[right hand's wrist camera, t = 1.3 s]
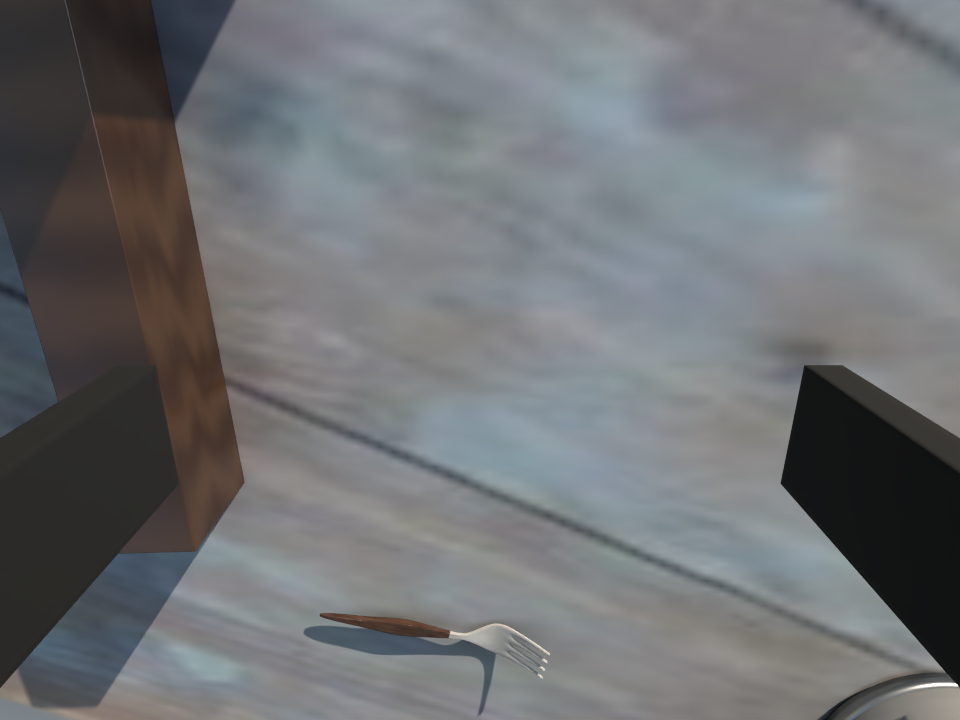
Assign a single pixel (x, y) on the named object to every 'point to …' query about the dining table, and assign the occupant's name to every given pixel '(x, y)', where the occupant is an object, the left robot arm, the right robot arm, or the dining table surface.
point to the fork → (450, 635)
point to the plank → (113, 234)
